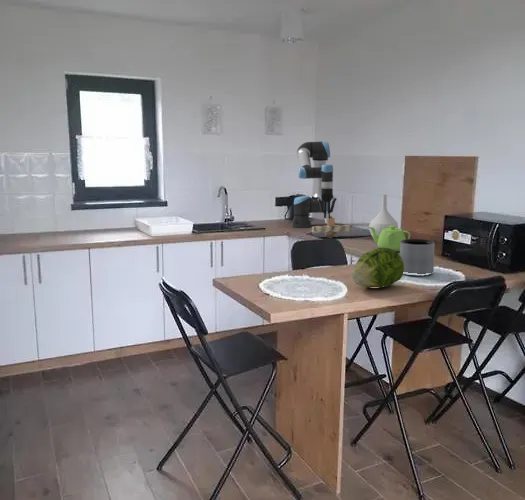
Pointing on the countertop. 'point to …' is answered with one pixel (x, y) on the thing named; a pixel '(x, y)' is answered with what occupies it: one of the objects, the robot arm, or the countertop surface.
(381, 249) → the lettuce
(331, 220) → the block
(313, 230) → the beam
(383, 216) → the vase
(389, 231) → the teapot
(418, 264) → the planter
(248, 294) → the countertop surface
